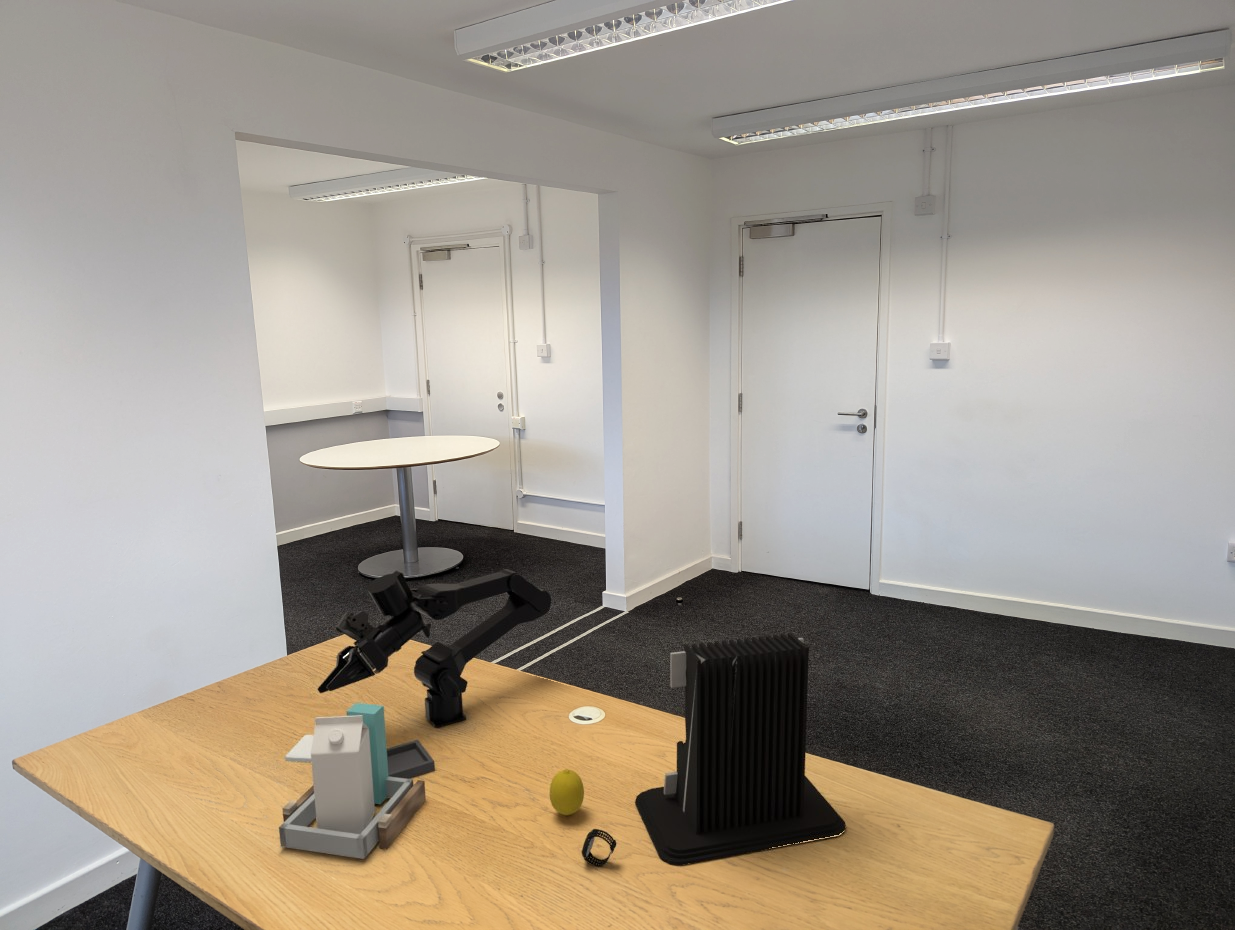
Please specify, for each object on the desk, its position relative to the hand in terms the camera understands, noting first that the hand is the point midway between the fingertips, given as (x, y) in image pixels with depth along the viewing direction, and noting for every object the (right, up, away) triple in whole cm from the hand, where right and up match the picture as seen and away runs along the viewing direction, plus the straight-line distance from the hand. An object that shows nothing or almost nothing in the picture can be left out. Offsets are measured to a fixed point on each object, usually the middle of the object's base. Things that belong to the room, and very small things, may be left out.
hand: (323, 690), depth 143 cm
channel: (+10, -17, -13) cm, 24 cm away
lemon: (+44, -17, -13) cm, 49 cm away
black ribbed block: (+72, -17, -13) cm, 75 cm away
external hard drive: (-2, -14, +8) cm, 16 cm away
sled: (+10, -17, -15) cm, 25 cm away
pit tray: (+14, -14, +2) cm, 20 cm away
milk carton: (+10, -18, -16) cm, 25 cm away
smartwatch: (+49, -19, -25) cm, 58 cm away
